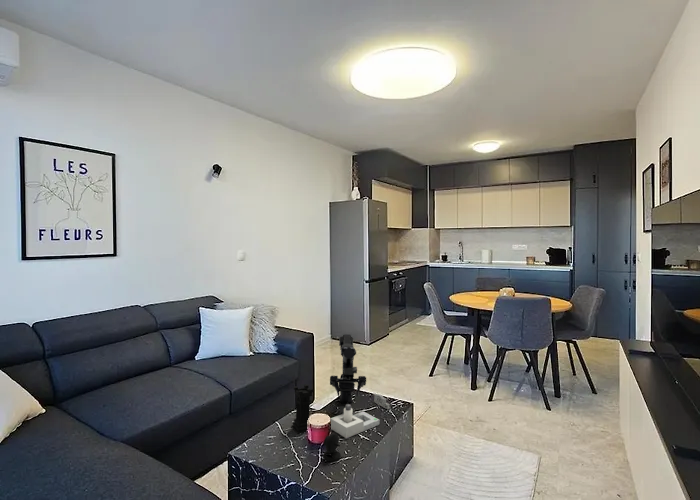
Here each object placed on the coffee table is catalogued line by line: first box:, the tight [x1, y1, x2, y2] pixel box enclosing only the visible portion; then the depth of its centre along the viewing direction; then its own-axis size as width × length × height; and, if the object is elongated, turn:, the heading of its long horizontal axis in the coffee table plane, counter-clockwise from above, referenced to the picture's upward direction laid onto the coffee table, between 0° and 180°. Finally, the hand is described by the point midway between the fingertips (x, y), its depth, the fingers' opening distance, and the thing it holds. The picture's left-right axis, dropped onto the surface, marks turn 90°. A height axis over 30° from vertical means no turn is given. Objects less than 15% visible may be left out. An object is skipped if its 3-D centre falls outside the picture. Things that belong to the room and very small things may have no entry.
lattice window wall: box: [373, 392, 391, 410], centre depth 217 cm, size 12×2×6 cm, turn 36°
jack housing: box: [330, 411, 381, 439], centre depth 192 cm, size 12×22×5 cm, turn 131°
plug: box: [343, 403, 354, 423], centre depth 189 cm, size 4×4×12 cm
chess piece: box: [291, 384, 314, 435], centre depth 188 cm, size 8×8×20 cm
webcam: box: [322, 432, 342, 463], centre depth 164 cm, size 8×8×10 cm
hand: (348, 396), depth 196 cm, fingers open, 9 cm apart
